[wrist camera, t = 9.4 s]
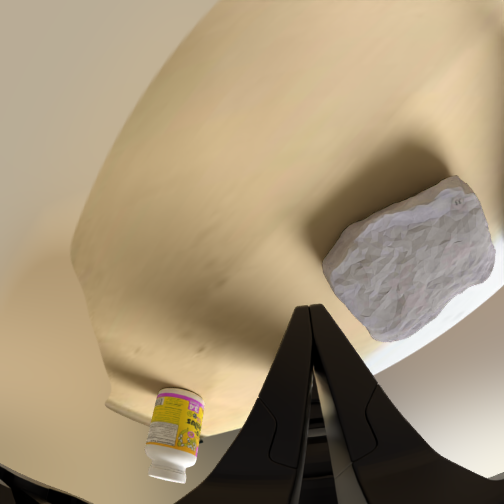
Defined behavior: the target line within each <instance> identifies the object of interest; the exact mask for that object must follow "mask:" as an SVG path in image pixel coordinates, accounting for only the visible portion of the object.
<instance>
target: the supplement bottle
mask: <svg viewBox="0 0 504 504" xmlns="http://www.w3.org/2000/svg"><path fill="white" fill-rule="evenodd" d="M203 412H204V401H203V400H202V398H201V397H199V396H198V395H196V394H195V393H192V392H190V391H187V390H183V389H178V388H165V389H162V390H160V391H159V393H158V396H157V400H156V403H155V408H154V412H153V416H152V420H151V425H150V429H149V434H148V438H147V442H146V447H145V452H146V454H147V456H148V457H149V458H150V459H152V465H150V467H149V472H148V475H149V476H152V477H155V478H159V479H163V480H167V481H172V482H178V483H185V481H186V474H185V469H186V468H187V467H190V466H193V465H194V464H195V462H196V459H197V451H198V445H199V438H200V431H201V425H202V418H203Z"/></svg>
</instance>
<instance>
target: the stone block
mask: <svg viewBox="0 0 504 504" xmlns="http://www.w3.org/2000/svg"><path fill="white" fill-rule="evenodd" d="M495 253H496V251H495V249H494V246H493V244H492V240H491V236H490V232H489V228H488V223H487V221H486V218H485V215H484V212H483V209H482V207H481V204H480V201H479V200H478V198H477V196H476V195H475V193H474V192H473V190H472V189H471V188H470V187H469V186H468V184H467V183H465V182H463V181H462V180H461V179H460V178H459V177H458V176H457V175H455V176H451V177H448V178H446V179H444V180H442V181H440V182H439V183H438V184H437V185H435V186H433V187H430V188H429V189H426V190H424V191H422V192H420V193H418V194H417V195H416V196H414V197H410V198H408V199H407V200H403V201H401V202H399V203H394V204H392V205H390V206H388V207H386V208H384V209H382V210H380V211H377V212H375V213H374V214H372V215H370V216H369V217H367V218H366V219H364V220H362V221H358V222H355V223H353V224H351V225H349V226H348V227H347V228H346V229H345V230H344V231H343V232H342V234H341V236H340V238H339V239H338V241H337V242H336V243H335V245H334V246H333V247H332V249H331V250H330V251H329V253H328V254H327V256H326V257H325V258H324V260H323V264H322V266H323V273H324V275H325V277H326V279H327V281H328V283H329V284H330V286H331V288H332V290H333V292H334V293H335V295H336V296H337V297H338V298H339V299H340V300H341V301H342V302H343V303H344V304H345V305H346V307H347V308H348V310H350V312H351V313H352V314H353V315H354V316H355V317H356V318H357V319H358V320H359V321H360V322H361V323H362V324H363V325H364V326H365V327H366V328H367V330H368V331H369V333H370V335H371V337H372V338H373V339H375V340H377V341H381V342H392V341H398V340H402V339H406V338H408V337H410V336H412V335H413V334H414V333H416V332H417V331H419V330H420V329H421V328H422V327H424V326H425V325H426V324H428V323H429V322H430V321H432V320H433V319H435V318H436V317H437V316H438V314H439V313H440V312H441V311H442V309H443V308H444V307H445V306H446V305H447V303H448V302H449V301H450V300H451V299H452V298H453V297H455V296H456V295H457V294H460V293H462V292H463V291H465V290H466V289H467V288H468V287H470V286H473V285H477V284H480V283H483V282H484V281H486V280H487V278H488V277H489V276H490V274H491V272H492V270H493V267H494V262H495Z"/></svg>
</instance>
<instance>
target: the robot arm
mask: <svg viewBox="0 0 504 504" xmlns="http://www.w3.org/2000/svg"><path fill="white" fill-rule="evenodd" d="M377 384H378V382H377V381H376V379H375V378H374V376H373V375H372V373H371V372H370V370H369V369H368V368H367V366H366V365H365V363H364V362H363V360H362V359H361V358H360V356H359V355H358V353H357V352H356V350H355V349H354V348H353V346H352V345H351V343H350V342H349V340H348V339H347V338H346V336H345V335H344V333H343V332H342V331H341V329H340V328H339V326H338V325H337V324H336V322H335V321H334V319H333V318H332V317H331V315H330V314H329V313H328V311H327V310H326V308H325V307H324V306H323V305H322V304H313V305H310V306H307V305H304V306H297V307H295V309H294V312H293V314H292V317H291V319H290V322H289V324H288V327H287V330H286V332H285V334H284V337H283V339H282V342H281V344H280V347H279V349H278V352H277V354H276V356H275V359H274V361H273V363H272V366H271V368H270V370H269V373H268V375H267V377H266V380H265V382H264V384H263V387H262V389H261V391H260V393H259V395H258V397H259V398H257V400H256V402H255V404H254V406H253V408H252V410H251V412H250V414H249V416H248V418H247V420H246V422H245V424H244V425H243V427H242V429H241V430H240V432H239V434H238V435H237V437H236V438H235V440H234V441H233V443H232V444H231V446H230V447H229V449H228V450H227V451H226V453H225V454H224V456H223V457H222V458H221V460H220V461H219V463H218V464H217V465H216V467H215V468H214V469H213V471H212V472H211V473H210V474H209V475H208V476H207V478H206V479H205V480H204V481H203V482H202V483H201V484H199V485H198V486H197V487H196V488H195V489H193V490H192V491H190V492H189V493H188V494H186V495H185V496H184V497H182V498H181V499H180V500H178V501H177V502H175V503H174V504H504V472H503V473H500V474H498V475H495V476H493V477H490V478H485V477H483V476H480V475H478V474H476V473H474V472H472V471H470V470H468V469H466V468H464V467H462V466H459V465H458V464H456V463H454V462H452V461H450V460H448V459H446V458H444V457H443V456H441V455H440V454H438V453H437V452H436V451H435V450H434V449H432V448H431V447H430V446H429V445H428V443H427V442H426V441H425V440H424V439H423V438H422V437H421V436H420V435H419V434H418V433H417V431H416V430H415V429H414V428H413V427H412V426H411V424H410V423H409V422H408V421H407V420H406V419H405V418H404V417H403V415H402V414H401V413H400V412H399V411H398V409H397V408H396V407H395V406H394V404H393V403H392V402H391V400H390V399H389V398H388V396H387V395H386V394H385V392H384V391H383V389H382V388H381V386H380V385H379V384H378V385H377ZM0 504H93V503H90V502H88V501H86V500H84V499H82V498H80V497H77V496H75V495H72V494H70V493H68V492H65V491H62V490H60V489H57V488H54V487H51V486H49V485H46V484H43V483H41V482H38V481H36V480H33V479H31V478H29V477H27V476H25V475H22V474H20V473H18V472H16V471H14V470H12V469H10V468H8V467H6V466H4V465H2V464H0Z"/></svg>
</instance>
